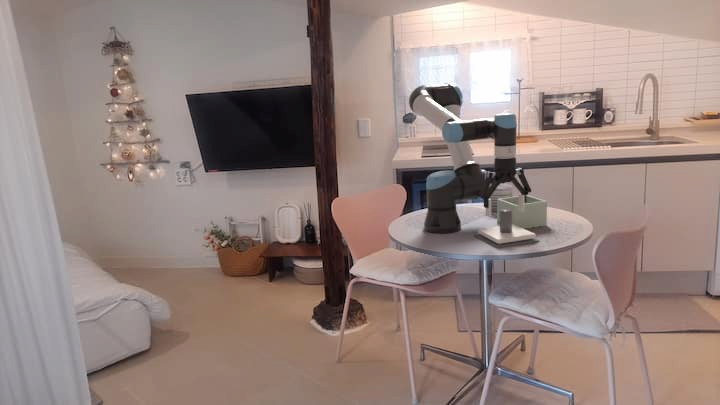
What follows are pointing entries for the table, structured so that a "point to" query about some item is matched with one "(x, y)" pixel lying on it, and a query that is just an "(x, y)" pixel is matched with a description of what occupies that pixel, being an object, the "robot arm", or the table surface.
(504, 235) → the lid
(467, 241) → the table surface
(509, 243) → the mat
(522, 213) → the box
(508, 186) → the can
